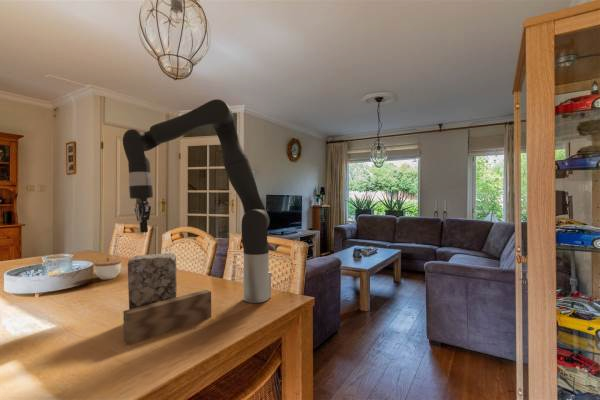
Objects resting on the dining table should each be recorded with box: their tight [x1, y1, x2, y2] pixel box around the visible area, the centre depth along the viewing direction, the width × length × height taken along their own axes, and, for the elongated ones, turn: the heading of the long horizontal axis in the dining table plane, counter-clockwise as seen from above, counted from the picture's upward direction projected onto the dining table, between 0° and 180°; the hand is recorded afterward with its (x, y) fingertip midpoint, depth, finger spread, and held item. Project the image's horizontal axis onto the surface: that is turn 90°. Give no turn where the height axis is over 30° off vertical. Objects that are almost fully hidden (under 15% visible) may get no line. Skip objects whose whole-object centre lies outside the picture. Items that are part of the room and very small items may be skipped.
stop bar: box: [122, 289, 212, 346], centre depth 86 cm, size 24×3×8 cm, turn 138°
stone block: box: [127, 252, 178, 310], centre depth 92 cm, size 13×7×20 cm, turn 114°
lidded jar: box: [94, 257, 122, 280], centre depth 141 cm, size 11×11×9 cm
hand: (144, 232), depth 109 cm, fingers closed
